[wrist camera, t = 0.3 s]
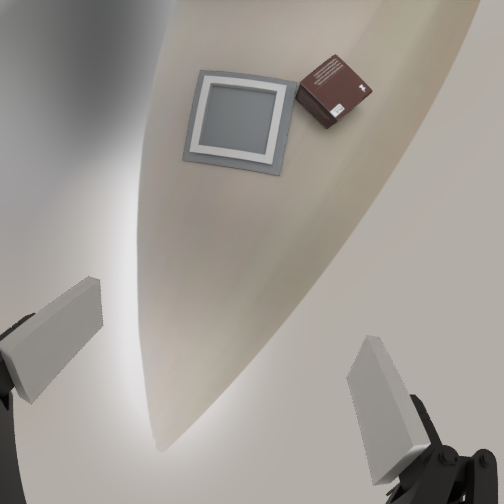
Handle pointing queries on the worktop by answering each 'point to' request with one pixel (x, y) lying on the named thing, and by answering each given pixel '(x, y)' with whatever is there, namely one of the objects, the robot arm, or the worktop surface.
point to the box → (332, 91)
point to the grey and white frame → (240, 121)
